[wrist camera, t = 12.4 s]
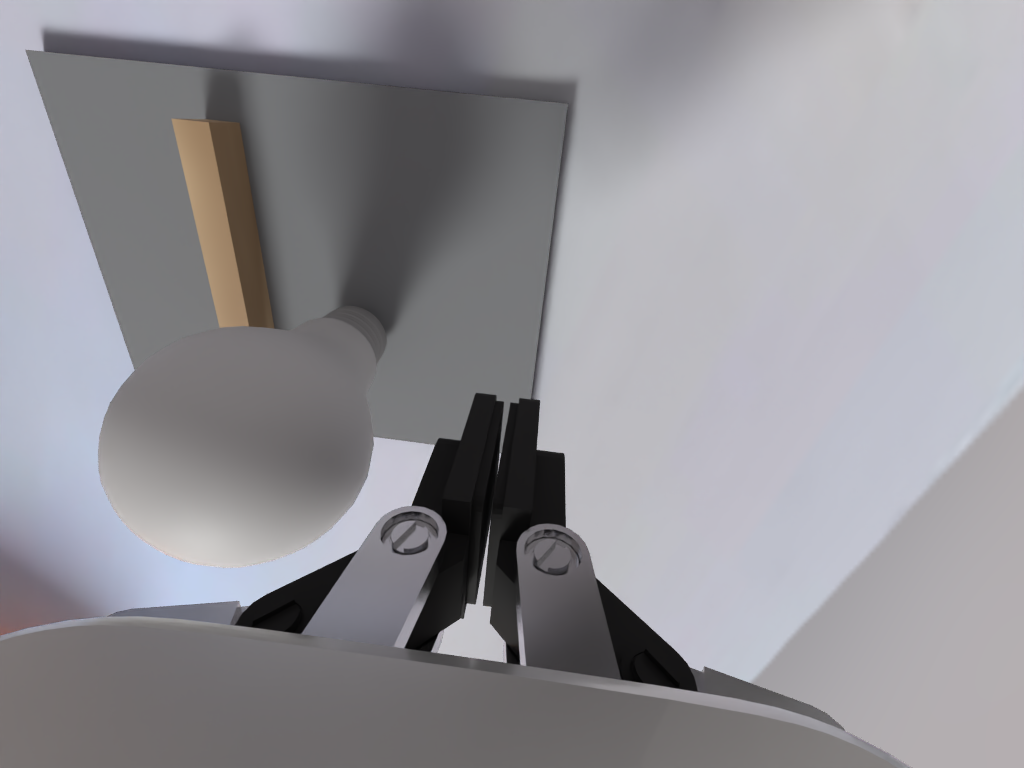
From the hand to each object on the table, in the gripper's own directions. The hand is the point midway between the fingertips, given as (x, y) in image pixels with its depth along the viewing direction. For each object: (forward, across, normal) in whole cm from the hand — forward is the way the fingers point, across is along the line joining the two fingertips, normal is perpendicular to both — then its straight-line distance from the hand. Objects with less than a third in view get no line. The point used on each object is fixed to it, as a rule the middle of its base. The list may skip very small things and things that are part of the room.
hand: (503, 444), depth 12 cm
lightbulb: (+8, +6, 0) cm, 10 cm away
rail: (+8, +11, 0) cm, 14 cm away
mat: (+8, +8, -1) cm, 12 cm away
